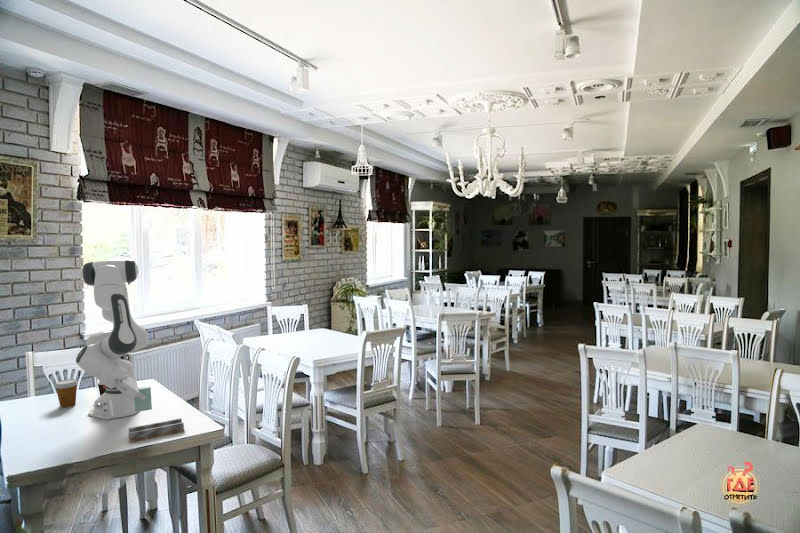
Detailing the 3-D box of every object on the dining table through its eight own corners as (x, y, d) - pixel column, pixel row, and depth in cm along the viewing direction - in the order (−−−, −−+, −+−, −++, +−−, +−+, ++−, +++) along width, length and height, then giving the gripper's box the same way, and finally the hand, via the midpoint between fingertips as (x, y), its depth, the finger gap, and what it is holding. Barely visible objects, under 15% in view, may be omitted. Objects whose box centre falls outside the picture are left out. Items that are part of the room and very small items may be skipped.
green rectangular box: (135, 412, 212) (134, 390, 211) (135, 410, 214) (133, 388, 213) (151, 409, 215) (150, 387, 214) (151, 407, 217) (150, 386, 216)
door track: (130, 443, 209) (129, 434, 208) (128, 435, 216) (128, 427, 216) (184, 432, 219) (184, 423, 218) (181, 425, 226) (180, 417, 226)
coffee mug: (105, 399, 266) (104, 379, 265) (122, 398, 266) (121, 379, 265) (91, 407, 255) (90, 386, 254) (109, 406, 254) (107, 386, 254)
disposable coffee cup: (83, 404, 259) (81, 380, 258) (62, 410, 251) (60, 385, 250) (73, 401, 264) (71, 377, 263) (52, 407, 256) (50, 382, 255)
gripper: (122, 376, 201) (152, 397, 206) (120, 365, 219) (148, 384, 224) (110, 390, 199) (140, 410, 204) (109, 377, 217) (137, 396, 222)
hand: (144, 396), depth 214 cm, fingers closed on green rectangular box, 2 cm apart
